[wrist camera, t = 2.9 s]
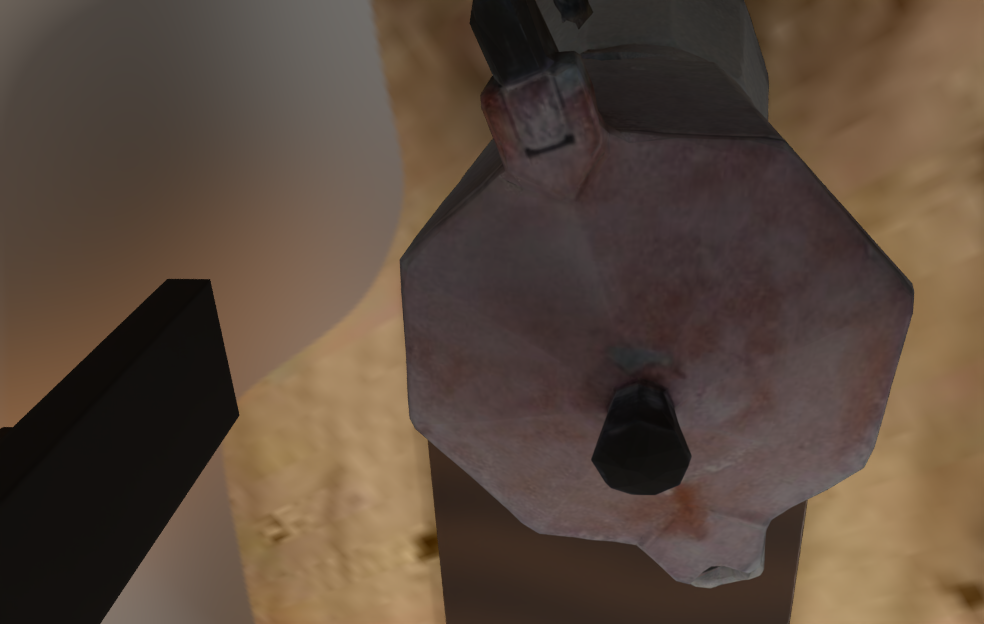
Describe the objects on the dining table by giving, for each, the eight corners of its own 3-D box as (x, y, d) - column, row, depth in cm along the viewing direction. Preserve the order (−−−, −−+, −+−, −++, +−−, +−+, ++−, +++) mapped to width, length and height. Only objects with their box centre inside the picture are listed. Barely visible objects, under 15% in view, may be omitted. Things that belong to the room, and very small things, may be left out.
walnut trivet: (418, 305, 36) (414, 315, 35) (830, 313, 34) (834, 323, 33) (452, 653, 45) (450, 666, 45) (777, 678, 43) (780, 692, 42)
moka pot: (583, 308, 35) (537, 773, 18) (397, -75, 29) (57, 52, 12) (827, 219, 32) (1062, 674, 15) (672, -226, 26) (752, -350, 9)
